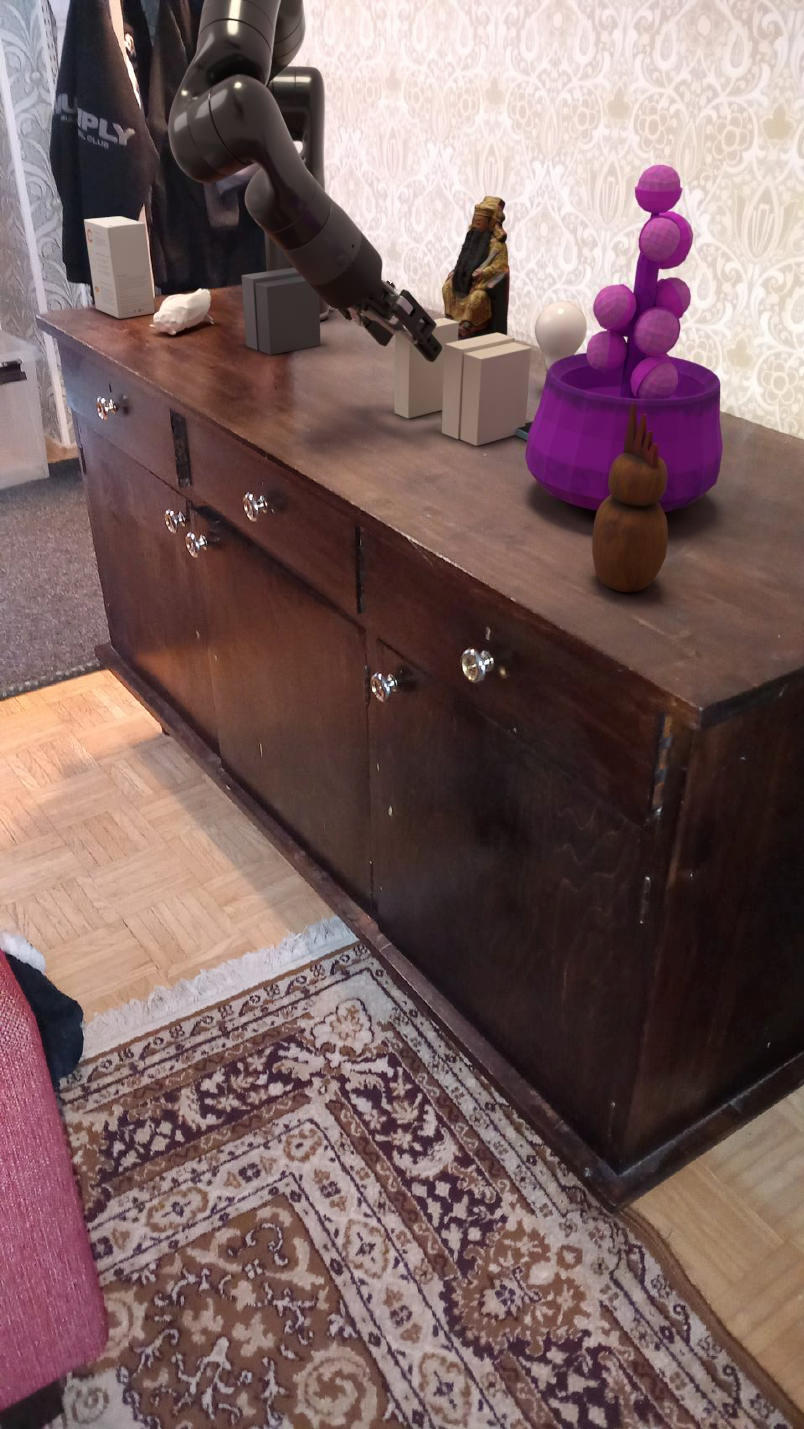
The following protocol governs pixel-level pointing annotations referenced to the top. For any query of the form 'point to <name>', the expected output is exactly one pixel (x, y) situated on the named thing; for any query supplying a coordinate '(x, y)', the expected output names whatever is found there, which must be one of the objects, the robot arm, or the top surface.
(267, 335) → the grey books
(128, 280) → the small box
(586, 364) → the decorative plant
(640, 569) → the wooden figurine
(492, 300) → the statue
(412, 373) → the white book
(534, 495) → the top surface
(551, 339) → the lightbulb
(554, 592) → the top surface
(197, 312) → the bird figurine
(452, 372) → the white books
